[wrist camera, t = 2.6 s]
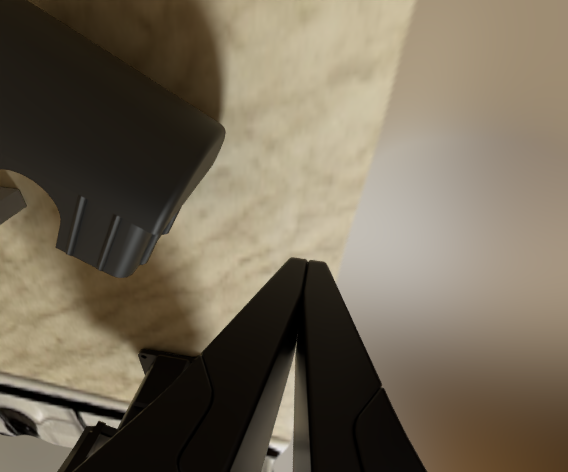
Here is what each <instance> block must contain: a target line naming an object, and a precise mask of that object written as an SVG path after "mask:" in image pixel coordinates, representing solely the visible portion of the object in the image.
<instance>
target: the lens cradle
mask: <svg viewBox="0 0 568 472" xmlns="http://www.w3.org/2000/svg"><path fill="white" fill-rule="evenodd" d="M25 207H26V204H25V202H24V200H23V198H22V196H21V194H20V192H19V189H12V188H5V187H0V225H1V224H2V223H3V222H5V221H6V220H8V219H9V218H11V217H12V216H13V215H15V214H16V213H18V212H19V211H21V210H22V209H23V208H25Z"/></svg>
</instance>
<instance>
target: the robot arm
mask: <svg viewBox="0 0 568 472" xmlns="http://www.w3.org/2000/svg"><path fill="white" fill-rule="evenodd" d="M296 342H297V345H296ZM295 348H296V356H295V395H294V440H293V472H427V470H426V469H425V467H424V466H423V463H422V462H421V460H420V458H419V456H418V454H417V453H416V451H415V449H414V447H413V446H412V444H411V442H410V440H409V438H408V437H407V435H406V433H405V431H404V429H403V427H402V425H401V423H400V421H399V419H398V417H397V415H396V413H395V411H394V409H393V407H392V404H391V402H390V400H389V398H388V396H387V394H386V391H385V389H384V388H381V387H382V383H381V381H380V379H379V376H378V374H377V372H376V370H375V368H374V366H373V363H372V361H371V359H370V357H369V355H368V353H367V350H366V348H365V346H364V344H363V342H362V340H361V337H360V335H359V333H358V331H357V329H356V326H355V324H354V322H353V320H352V318H351V316H350V313H349V311H348V309H347V307H346V305H345V303H344V301H343V298H342V296H341V294H340V292H339V290H338V287H337V285H336V283H335V281H334V279H333V276H332V274H331V272H330V270H329V268H328V266H327V264H326V263H325V262H322V261H315V260H310V261H307V260H306V259H301V258H294V257H291V258H290V259H289V260H288V261H287V262H286V263H285V264H284V265H283V266H282V267H281V268H280V269H279V270H278V271H277V272H276V273H275V274H274V276H273V277H272V278H271V279H270V280H269V281H268V282H267V283H266V284H265V285H264V286H263V287H262V288H261V289H260V291H259V292H258V293H257V294H256V295H255V296H254V297H253V298H252V299H251V300H250V301H249V302H248V303H247V304H246V306H245V307H244V308H243V309H242V310H241V311H240V312H239V313H238V314H237V315H236V316H235V317H234V318H233V319H232V321H231V322H230V323H229V324H228V325H227V326H226V327H225V328H224V329H223V330H222V331H221V332H220V333H219V335H218V336H217V337H216V338H215V339H214V340H213V341H212V342H211V343H210V344H209V345H208V346H207V347H206V348H205V350H204V351H203V352H202V353H201V354H202V356H201V355H199V356H198V357H197V358H192V357H186V356H180V355H175V354H169V353H164V352H158V351H153V350H147V349H141V350H140V352H139V354H138V357H139V360H140V362H141V365H142V368H143V371H144V374H145V377H144V379H143V381H142V383H141V385H140V387H139V388H138V390H137V392H136V394H135V396H134V398H133V400H132V402H131V404H130V406H129V407H128V409H127V411H126V413H125V415H124V417H123V419H122V421H121V423H120V425H119V427H118V428H117V429H116V428H113V427H110V426H107V425H106V423H104V422H101V421H98V423H97V425H96V426H86V428H85V430H84V431H83V433H82V435H81V436H80V438H79V440H78V441H77V443H76V445H75V446H74V448H73V449H72V451H71V453H70V454H69V456H68V457H67V459H66V460H65V461H64V463H63V464H62V466H61V467H60V469H59V470H58V471H57V472H261V471H262V467H263V463H264V460H265V456H266V453H267V449H268V446H269V442H270V439H271V435H272V432H273V428H274V424H275V421H276V417H277V414H278V410H279V407H280V403H281V400H282V396H283V393H284V389H285V385H286V382H287V378H288V375H289V371H290V368H291V364H292V361H293V357H294V353H295Z"/></svg>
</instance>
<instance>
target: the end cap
mask: <svg viewBox="0 0 568 472" xmlns="http://www.w3.org/2000/svg"><path fill="white" fill-rule="evenodd" d="M225 133H226V131H225V128H224V127H223V126H222V125H221V124H220V123H218V122H217V121H215V120H214V119H212V118H211V117H209V116H207V115H206V114H204V113H203V112H201V111H200V110H198V109H196V108H195V107H193V106H192V105H190V104H189V103H187V102H186V101H184V100H182V99H181V98H179V97H178V96H176V95H175V94H173V93H171V92H170V91H168V90H167V89H165V88H164V87H162V86H160V85H159V84H157V83H156V82H154V81H153V80H151V79H149V78H148V77H146V76H145V75H143V74H142V73H140V72H138V71H137V70H135V69H134V68H132V67H131V66H129V65H128V64H126V63H124V62H123V61H121V60H120V59H118V58H117V57H115V56H113V55H112V54H110V53H109V52H107V51H106V50H104V49H102V48H101V47H99V46H98V45H96V44H95V43H93V42H91V41H90V40H88V39H87V38H85V37H84V36H82V35H80V34H79V33H77V32H76V31H74V30H73V29H71V28H70V27H68V26H66V25H65V24H63V23H62V22H60V21H59V20H57V19H55V18H54V17H52V16H51V15H49V14H48V13H46V12H44V11H43V10H41V9H40V8H38V7H37V6H35V5H33V4H32V3H30V2H29V1H27V0H0V169H5V170H11V171H14V172H17V173H20V174H22V175H24V176H26V177H28V178H29V179H31V180H33V181H34V182H35V183H37V184H38V185H39V186H41V187H42V188H43V189H44V190H45V191H46V192H47V193H48V194H49V196H50V197H51V198H52V199H53V201H54V203H55V204H56V206H57V208H58V210H59V213H60V218H61V223H60V229H59V233H58V238H57V243H56V248H58V249H60V250H62V251H64V252H66V254H68V255H70V256H74V257H76V258H78V259H80V260H82V261H84V262H86V263H88V264H90V265H92V266H94V267H96V269H98V270H100V271H104V272H106V273H108V274H110V275H112V276H114V277H119V278H124V277H128V276H130V275H132V274H133V273H134V271H135V270H136V269H137V267H138V266H139V265H143V264H146V263H147V262H148V259H149V257H150V255H151V253H152V251H153V249H154V247H155V245H156V243H157V241H158V239H159V238H160V237H161V235H165V234H167V233H169V231H170V229H171V227H172V225H173V223H174V221H175V219H176V217H177V215H178V213H179V211H180V209H181V207H182V205H183V204H184V202H185V201H186V200H187V198H188V197H189V196H190V194H191V193H192V192H193V190H194V189H195V188H196V186H197V185H198V184H199V183H200V181H201V180H202V179H203V177H204V176H205V175H206V173H207V172H208V171H209V169H210V168H211V167H212V165H213V163H214V161H215V159H216V157H217V155H218V153H219V151H220V149H221V146H222V144H223V141H224V139H225Z"/></svg>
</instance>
